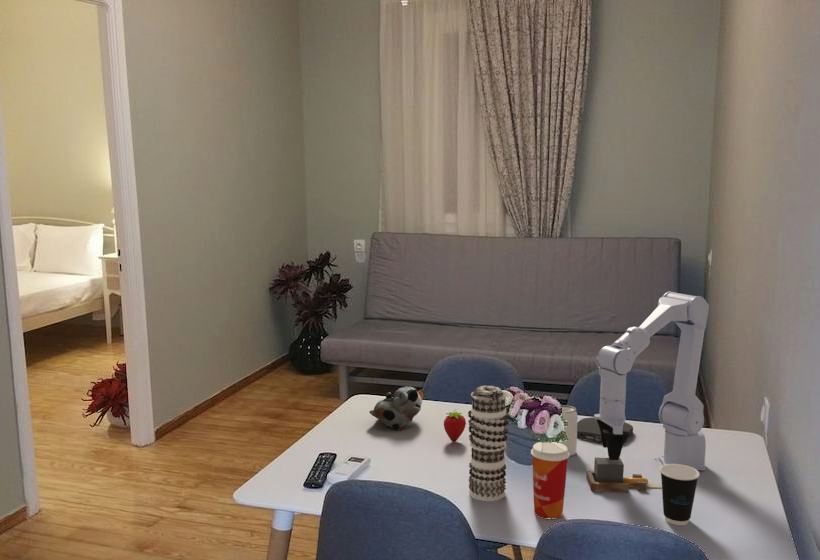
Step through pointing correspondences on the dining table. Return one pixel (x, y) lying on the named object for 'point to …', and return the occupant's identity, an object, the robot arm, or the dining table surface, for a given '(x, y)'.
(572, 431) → the can
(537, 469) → the coffee cup
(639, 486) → the holder
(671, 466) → the dixie cup
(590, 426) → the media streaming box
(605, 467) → the grey block with handle
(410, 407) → the lucky cat figurine
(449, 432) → the strawberry
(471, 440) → the decorative candle
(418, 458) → the dining table surface
